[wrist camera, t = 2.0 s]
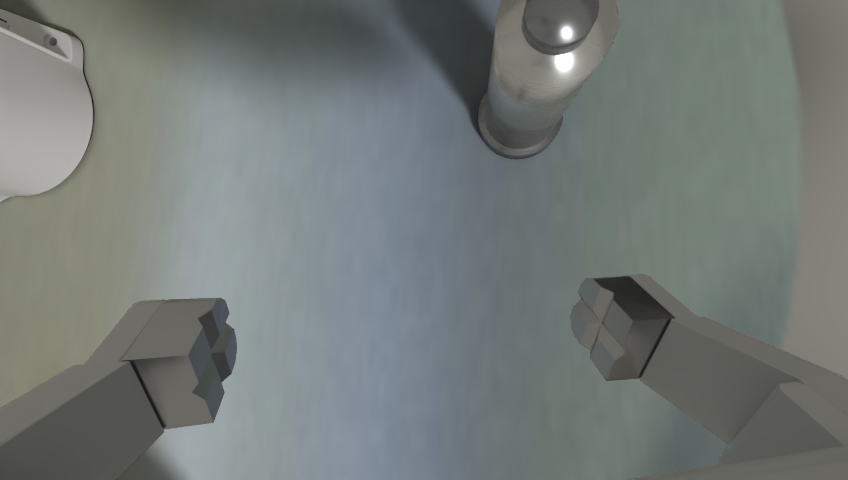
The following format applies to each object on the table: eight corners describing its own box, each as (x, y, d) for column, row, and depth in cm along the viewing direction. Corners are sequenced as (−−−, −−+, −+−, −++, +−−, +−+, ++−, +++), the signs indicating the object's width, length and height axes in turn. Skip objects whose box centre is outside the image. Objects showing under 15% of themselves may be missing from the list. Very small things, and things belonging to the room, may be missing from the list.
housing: (462, 133, 31) (459, 36, 17) (505, 66, 30) (538, -90, 16) (530, 174, 30) (585, 108, 16) (575, 105, 30) (671, -23, 16)
